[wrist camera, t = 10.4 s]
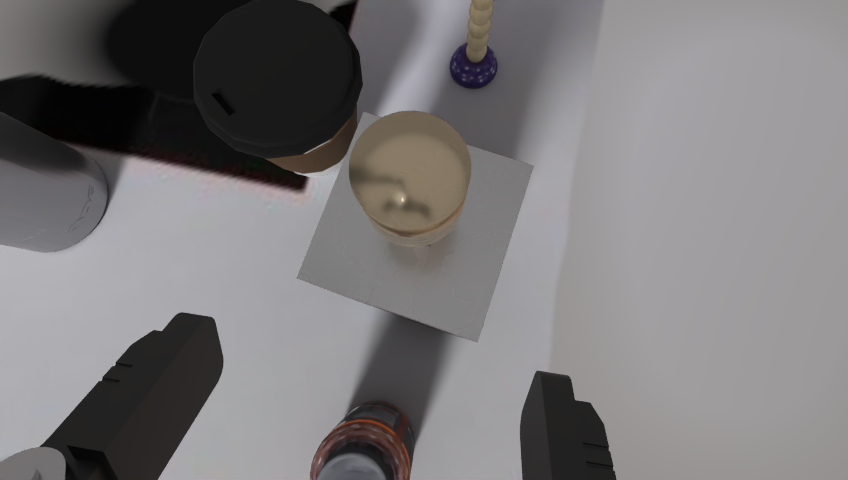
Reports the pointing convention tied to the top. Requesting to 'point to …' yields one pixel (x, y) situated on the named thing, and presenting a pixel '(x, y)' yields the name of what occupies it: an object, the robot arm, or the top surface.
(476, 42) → the toy lamp
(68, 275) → the top surface
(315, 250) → the block with hole
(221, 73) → the coffee cup
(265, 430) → the top surface
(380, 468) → the supplement bottle
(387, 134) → the tan rounded stemmed piece
